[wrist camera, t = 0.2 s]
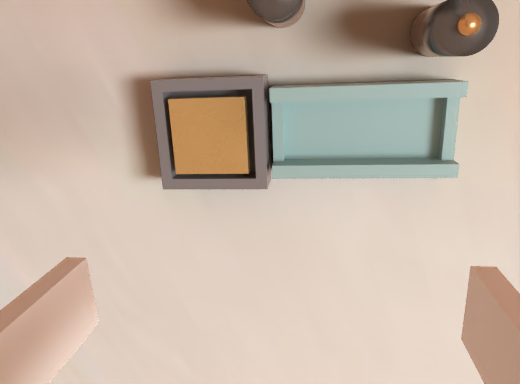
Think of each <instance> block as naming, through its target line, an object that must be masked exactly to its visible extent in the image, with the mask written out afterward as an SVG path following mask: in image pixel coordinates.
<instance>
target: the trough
mask: <svg viewBox="0 0 520 384" xmlns="http://www.w3.org/2000/svg"><path fill="white" fill-rule="evenodd" d="M467 88H468V81H461V80H455V79H452V80H424V81H395V82H366V83H337V84H309V85H280V86H272V87H271V88H269V93H270V103H272V130H273V164H272V179H302V178H458V169H459V164H458V163H457V162H455V161H454V150H455V141H456V131H457V122H458V112H459V103H460V97H467Z"/></svg>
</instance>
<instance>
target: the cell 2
mask: <svg viewBox="0 0 520 384" xmlns="http://www.w3.org/2000/svg"><path fill="white" fill-rule="evenodd" d="M498 24H499V14H498V10H497V7H496V6H495V4H494V2H493V1H492V0H447V1H444V2H442V3H440V4H437V5H435V6H433V7H430V8H428V9H426V10H424V11H423V12H421V13H420V14H419V15H418V16H417V17H416V19H415V20H414V22H413V24H412V26H411V30H410V40H411V43H412V45H413V47H414V48H415V50H416V51H417V52H419V53H420V54H422V55H425V56H431V57H436V56H469V55H473V54H475V53H477V52H479V51H481V50H483V49H484V48H485V47H486V46H487V45H488V44H489V43H490V42H491V41H492V39H493V38H494V36H495V34H496V32H497V29H498Z"/></svg>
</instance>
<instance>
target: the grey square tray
mask: <svg viewBox="0 0 520 384" xmlns="http://www.w3.org/2000/svg"><path fill="white" fill-rule="evenodd" d="M150 84H151V92H152V101H153V109H154V117H155V126H156V134H157V143H158V151H159V159H160V168H161V176H162V185H163V189H268V186H269V183H270V180H271V160H270V131H269V102H268V75H249V76H223V77H197V78H171V79H159V80H151V81H150ZM223 96H246V97H247V117H248V137H249V157H250V172H249V174H176V169H175V160H174V151H173V141H172V132H171V123H170V113H169V104H168V99H170V98H192V97H223Z"/></svg>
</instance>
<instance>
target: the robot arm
mask: <svg viewBox="0 0 520 384" xmlns="http://www.w3.org/2000/svg"><path fill="white" fill-rule="evenodd" d="M98 323H99V322H98V317H97V312H96V307H95V301H94V296H93V291H92V286H91V280H90V275H89V270H88V264H87V259H86V258H69V257H67V258H65V259H64V260H63V261H62V262H60V263H59V264H58V265H57V266H55V267H54V268H53V269H52V270H50V271H49V272H48V273H47V274H45V275H44V276H43V277H42V278H40V279H39V280H38V281H37V282H35V283H34V284H33V285H32V286H30V287H29V288H28V289H27V290H25V291H24V292H23V293H22V294H20V295H19V296H18V297H17V298H15V299H14V300H13V301H12V302H10V303H9V304H8V305H7V306H5V307H4V308H3V309H2V310H0V384H49V383H50V382H51V381H52V379H53V378H54V377H55V376H56V374H57V373H58V372H59V371H60V370H61V368H62V367H63V366H64V365H65V363H66V362H67V361H68V360H69V359H70V357H71V356H72V355H73V354H74V352H75V351H76V350H77V349H78V348H79V346H80V345H81V344H82V343H83V341H84V340H85V339H86V338H87V337H88V335H89V334H90V333H91V332H92V330H93V329H94V328H95V327H96V326H97V324H98ZM461 339H462V341H463V343H464V345H465V347H466V349H467V351H468V353H469V355H470V357H471V359H472V361H473V362H474V364H475V366H476V368H477V370H478V372H479V374H480V376H481V378H482V380H483V382H484V384H520V294H519V292H518V291H517V290H516V289H515V288H514V287H513V286H512V284H511V283H510V282H509V281H508V280H507V279H506V278H505V276H504V275H503V274H502V273H501V272H500V271H499V269H498V268H497V267H480V266H471V267H470V275H469V283H468V291H467V298H466V306H465V314H464V322H463V330H462V337H461Z"/></svg>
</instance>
